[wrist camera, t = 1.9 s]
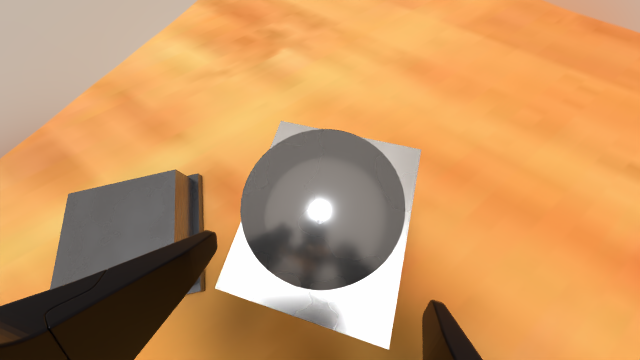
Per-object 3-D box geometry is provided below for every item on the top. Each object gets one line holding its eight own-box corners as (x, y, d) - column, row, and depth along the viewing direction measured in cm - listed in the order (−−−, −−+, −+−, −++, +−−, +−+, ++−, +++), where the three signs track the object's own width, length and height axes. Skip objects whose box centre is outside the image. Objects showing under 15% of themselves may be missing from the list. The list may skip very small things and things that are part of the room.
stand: (204, 290, 18) (180, 294, 16) (82, 317, 18) (35, 327, 16) (201, 175, 22) (181, 162, 19) (98, 199, 22) (63, 189, 19)
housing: (359, 300, 17) (406, 379, 5) (284, 275, 18) (176, 294, 6) (378, 210, 20) (441, 120, 7) (310, 193, 21) (267, 88, 8)
